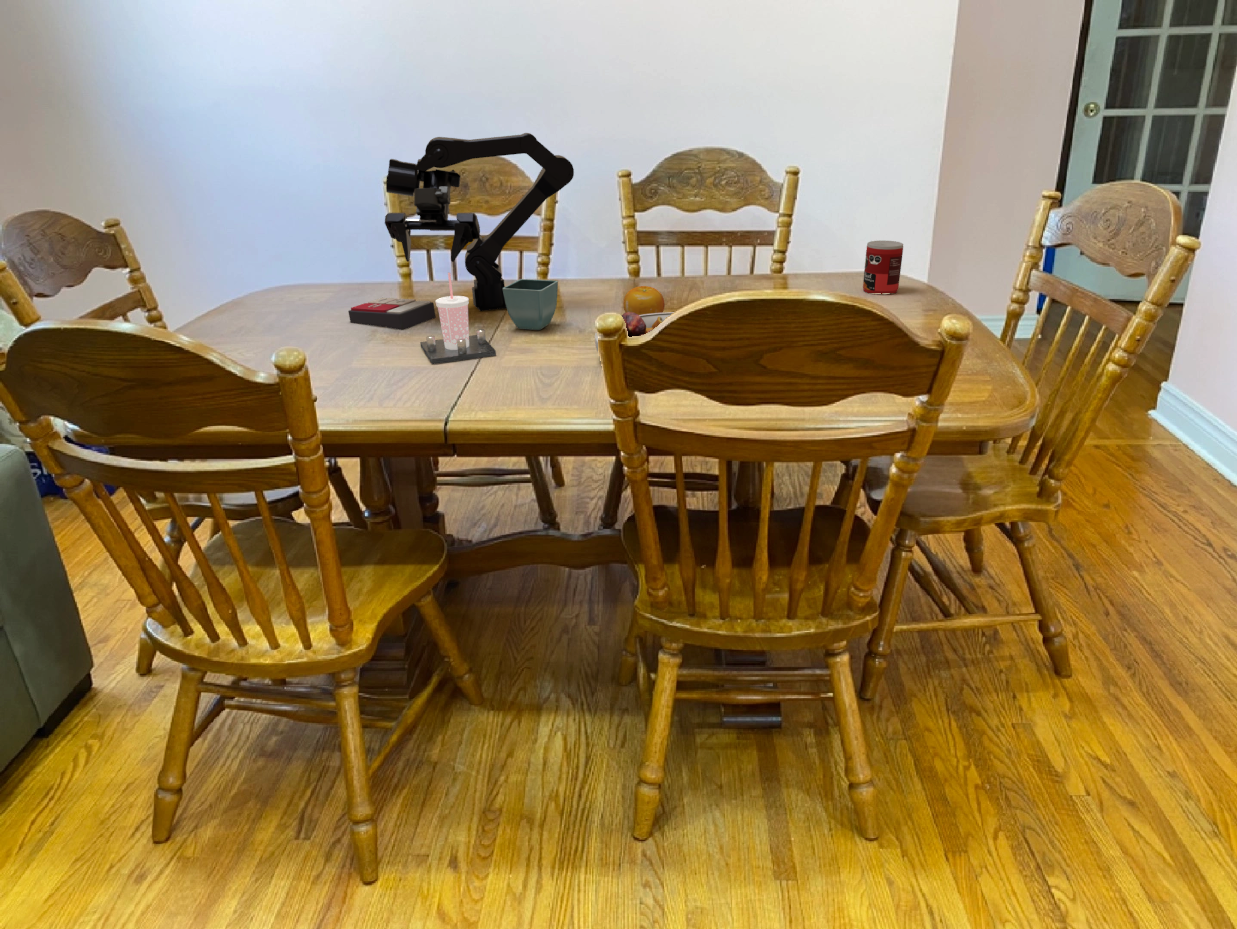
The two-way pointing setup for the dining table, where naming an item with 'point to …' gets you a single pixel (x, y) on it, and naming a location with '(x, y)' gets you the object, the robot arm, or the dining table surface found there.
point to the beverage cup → (453, 318)
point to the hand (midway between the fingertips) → (429, 260)
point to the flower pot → (531, 302)
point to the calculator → (393, 313)
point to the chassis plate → (453, 353)
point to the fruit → (644, 301)
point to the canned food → (882, 266)
